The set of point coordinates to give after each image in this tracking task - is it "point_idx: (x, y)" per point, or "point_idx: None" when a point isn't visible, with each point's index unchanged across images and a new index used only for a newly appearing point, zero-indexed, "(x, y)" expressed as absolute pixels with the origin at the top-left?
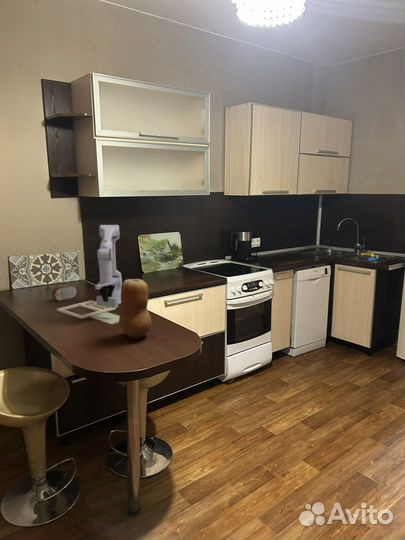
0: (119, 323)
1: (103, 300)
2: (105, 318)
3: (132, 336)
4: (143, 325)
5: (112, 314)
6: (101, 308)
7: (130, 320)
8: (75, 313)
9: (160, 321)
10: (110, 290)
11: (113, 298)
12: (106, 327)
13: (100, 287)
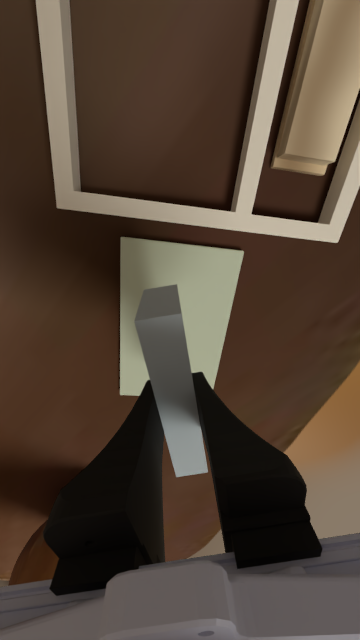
0: (22, 552)
1: (144, 388)
2: None
3: None
4: None
5: (222, 311)
6: (290, 157)
7: None
8: (65, 89)
9: None
10: (215, 494)
11: (181, 461)
12: (85, 398)
13: (13, 619)
